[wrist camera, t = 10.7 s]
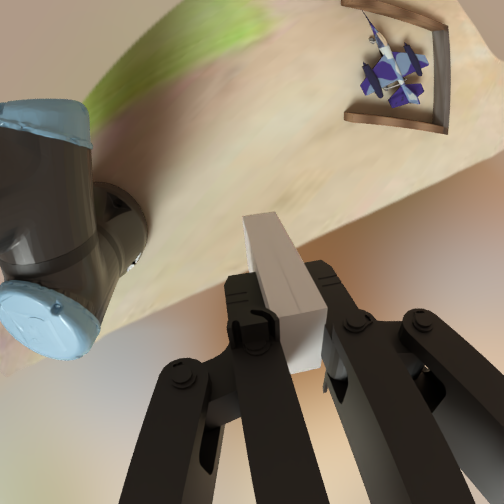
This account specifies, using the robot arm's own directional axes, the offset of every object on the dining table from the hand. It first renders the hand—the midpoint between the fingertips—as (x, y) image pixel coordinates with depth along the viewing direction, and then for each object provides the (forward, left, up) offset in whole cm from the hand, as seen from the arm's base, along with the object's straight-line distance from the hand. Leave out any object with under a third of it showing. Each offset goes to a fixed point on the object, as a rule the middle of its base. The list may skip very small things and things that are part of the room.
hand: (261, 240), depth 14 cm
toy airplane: (+23, +13, -28) cm, 38 cm away
